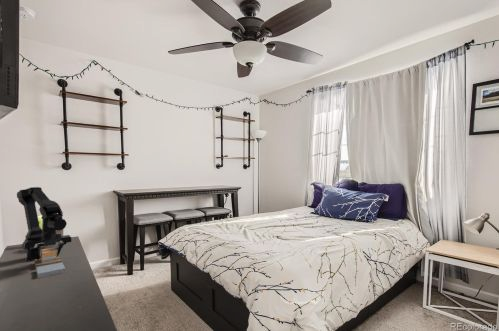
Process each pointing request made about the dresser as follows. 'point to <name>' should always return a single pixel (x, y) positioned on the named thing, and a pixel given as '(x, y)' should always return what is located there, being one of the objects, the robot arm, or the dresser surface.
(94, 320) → the dresser surface
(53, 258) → the housing base
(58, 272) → the slate stand
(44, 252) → the cover
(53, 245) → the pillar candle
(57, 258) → the walnut stand
